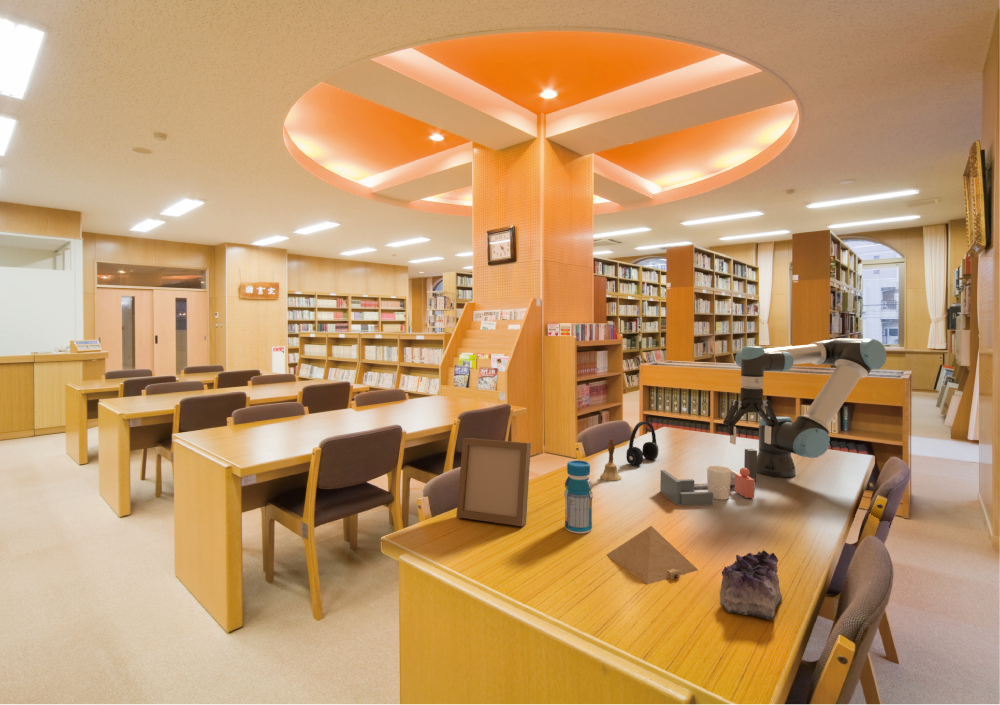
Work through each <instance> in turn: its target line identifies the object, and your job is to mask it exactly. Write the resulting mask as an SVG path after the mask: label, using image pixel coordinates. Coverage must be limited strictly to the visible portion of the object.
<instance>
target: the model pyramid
mask: <svg viewBox="0 0 1000 705" xmlns="http://www.w3.org/2000/svg"><path fill="white" fill-rule="evenodd" d="M606 556H607V557H608V558H610V559H611V560H612V561H614V562H615V563H617V564H618V565H620V567H622V568H624V569H625V570H627V571H628V572H630V574H632V575H633V576H635V577H637V579H639V580H640V581H642V582H643V583H645V584H646V585H651V584H655V583H658V582H662V581H664V580H668V579H670V580H671V581H673V580H675V578H677V579H680V576H682V575H687V574H690V573H694V572H697V571H699V569H698V568H697V567H696V566H695V565H694V564H693V563H692V562H690V561H689V560H688V559H687V557H685V556H684V555H683V554H682V553H681V552H680V551H679V550H678V549H676V547H674V545H672V544H671V543H670V542H669V541H668V540H667V539H666V538H665V537H663V536H662V534H660V532H659V531H657V529H655V528H654V527H653V526H652V525H649V527H647V528H645V529H643V530H642V531H641V532H639V533H638V534H636V535H634V536H633V537H632V538H630V539H628V540H627V541H625V542H624V543H622V544H621V545H619V546H617V547H616V548H614V549H613V550H611V551H610V552H608V553H606Z"/></svg>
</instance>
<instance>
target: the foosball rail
mask: <svg viewBox="0 0 1000 705" xmlns="http://www.w3.org/2000/svg"><path fill="white" fill-rule="evenodd" d="M730 489H735V485H730ZM694 490H708V483H694Z"/></svg>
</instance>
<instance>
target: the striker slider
mask: <svg viewBox="0 0 1000 705" xmlns="http://www.w3.org/2000/svg"><path fill="white" fill-rule="evenodd" d="M757 455H758V450H757V449H755V448H744V465H743V466H744V467H742V468H740V469H739V471H736V470H734V469H733V468H730V469H731V483H730V485H735V488H734V492H736V493H737V494H739V495H740V496H742V497H743V498H745V499H749V498H750V499H751V498H755V483H757V473H758V472H757Z"/></svg>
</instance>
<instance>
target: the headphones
mask: <svg viewBox="0 0 1000 705" xmlns="http://www.w3.org/2000/svg"><path fill="white" fill-rule="evenodd" d="M643 425H647V426H648V427H649V429H650V433H651V441H648V442H645V443H643V445H642V449H641V448H639V447H636V446H634V440H635V438H636V434H637V432H638V430H639V429H640V428H641V426H643ZM628 444H629V445H628V449H627V450H626V461H627V463H628V464H629V465H632V466H633V467H634V466H635V467H636V466H640V465H641V464H642V463H643V461H644V458H645V459H646V460H656V459H657V458H658V456H659V446H658V444H657V437H656V432H655V428H654V427H653V424H652V423H651V422H649V421H639V422H638V423H636V425H635V427H634V428H633V429H632V432H631V434H630V439H629V443H628Z"/></svg>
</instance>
